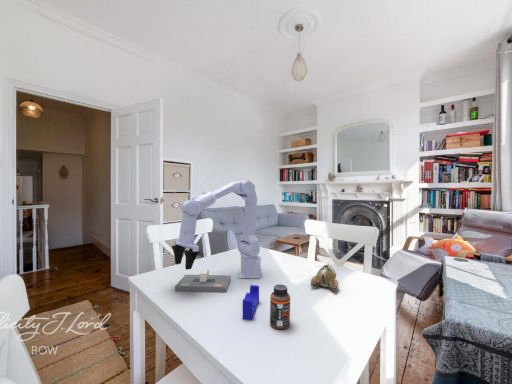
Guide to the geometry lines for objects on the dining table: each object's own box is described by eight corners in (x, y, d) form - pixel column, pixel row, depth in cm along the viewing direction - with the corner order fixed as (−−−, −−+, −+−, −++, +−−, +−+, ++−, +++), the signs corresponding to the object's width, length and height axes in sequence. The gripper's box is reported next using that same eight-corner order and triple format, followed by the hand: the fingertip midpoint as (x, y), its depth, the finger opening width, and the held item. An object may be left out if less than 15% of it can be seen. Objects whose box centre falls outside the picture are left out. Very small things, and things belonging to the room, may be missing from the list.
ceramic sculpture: (341, 261, 102) (336, 275, 89) (340, 280, 103) (336, 297, 89) (316, 258, 107) (308, 270, 93) (316, 276, 107) (309, 291, 94)
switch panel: (230, 280, 103) (230, 275, 103) (225, 292, 91) (226, 287, 91) (185, 279, 103) (185, 274, 103) (175, 291, 91) (175, 285, 91)
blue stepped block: (246, 300, 85) (246, 284, 84) (259, 302, 84) (259, 285, 84) (237, 319, 73) (237, 300, 73) (252, 321, 72) (252, 301, 72)
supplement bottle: (284, 333, 66) (285, 293, 66) (266, 326, 69) (266, 288, 69) (293, 322, 71) (293, 285, 71) (275, 316, 74) (275, 281, 74)
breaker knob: (208, 277, 99) (208, 269, 99) (205, 282, 94) (205, 273, 94) (202, 277, 100) (203, 269, 99) (199, 282, 94) (199, 273, 94)
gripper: (168, 228, 93) (164, 262, 92) (188, 234, 83) (183, 273, 82) (184, 228, 98) (180, 260, 97) (205, 234, 88) (200, 270, 88)
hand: (183, 266), depth 90 cm, fingers open, 7 cm apart
